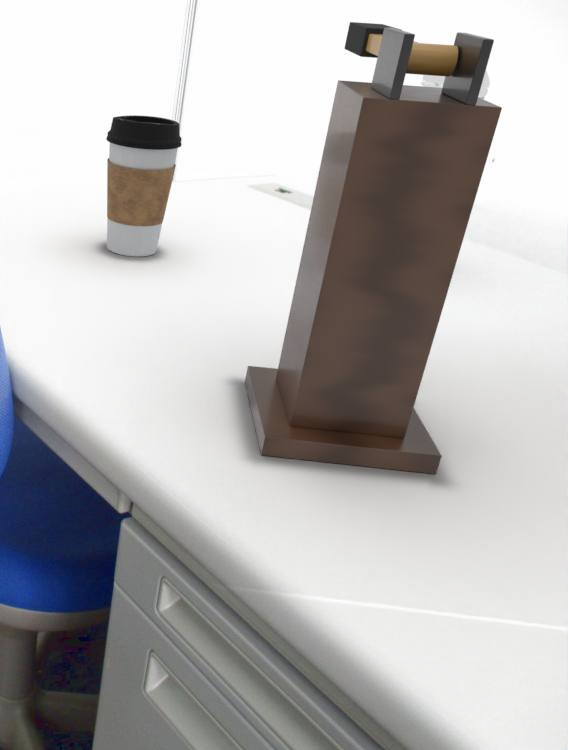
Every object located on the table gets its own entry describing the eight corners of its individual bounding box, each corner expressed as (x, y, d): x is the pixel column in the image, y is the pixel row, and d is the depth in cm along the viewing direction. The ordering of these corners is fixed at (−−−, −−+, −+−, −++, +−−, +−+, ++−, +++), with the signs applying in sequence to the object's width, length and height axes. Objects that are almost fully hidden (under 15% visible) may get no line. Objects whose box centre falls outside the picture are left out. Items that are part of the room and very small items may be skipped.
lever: (383, 51, 69) (389, 24, 68) (452, 80, 54) (461, 45, 53) (337, 48, 70) (343, 21, 69) (392, 75, 54) (400, 41, 53)
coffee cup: (86, 252, 101) (98, 118, 94) (108, 234, 108) (120, 107, 101) (157, 264, 98) (175, 127, 91) (174, 245, 105) (192, 116, 98)
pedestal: (393, 397, 71) (496, 30, 58) (436, 474, 60) (573, 47, 48) (244, 381, 72) (313, 18, 59) (261, 455, 61) (349, 32, 49)
